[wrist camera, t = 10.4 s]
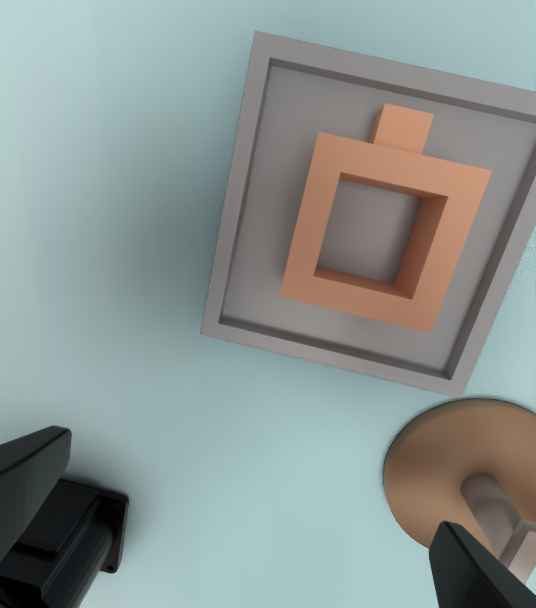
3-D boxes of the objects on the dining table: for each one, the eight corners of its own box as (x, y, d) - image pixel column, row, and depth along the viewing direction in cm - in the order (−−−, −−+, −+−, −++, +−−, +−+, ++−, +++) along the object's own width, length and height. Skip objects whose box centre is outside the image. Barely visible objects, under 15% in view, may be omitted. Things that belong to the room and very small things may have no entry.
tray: (449, 384, 19) (460, 398, 18) (207, 324, 20) (200, 334, 18) (560, 112, 16) (587, 103, 14) (259, 46, 16) (254, 30, 15)
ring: (410, 312, 18) (430, 333, 15) (282, 282, 18) (278, 296, 15) (473, 134, 16) (512, 118, 13) (325, 101, 16) (331, 78, 13)
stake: (521, 561, 22) (585, 666, 17) (362, 519, 22) (379, 610, 17) (598, 424, 19) (702, 501, 14) (415, 379, 19) (454, 439, 14)
